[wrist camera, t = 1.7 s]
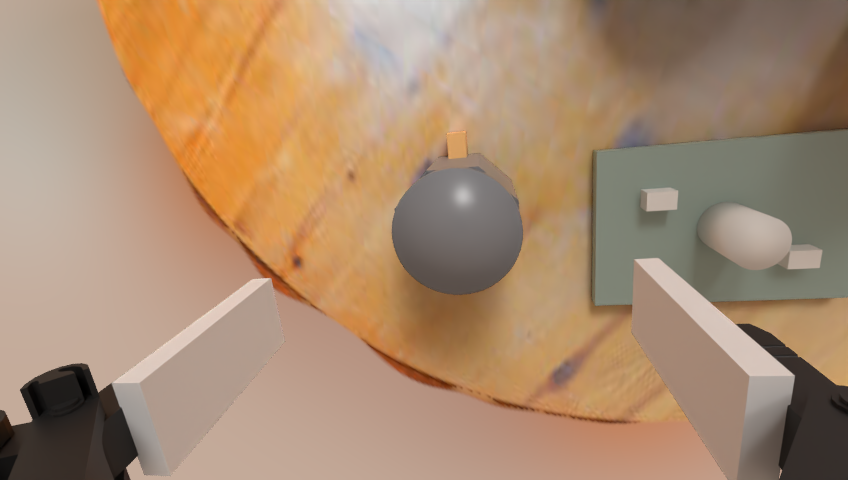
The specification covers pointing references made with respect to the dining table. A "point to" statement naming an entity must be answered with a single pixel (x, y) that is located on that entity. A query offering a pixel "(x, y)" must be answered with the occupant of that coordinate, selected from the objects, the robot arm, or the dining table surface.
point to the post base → (714, 177)
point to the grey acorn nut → (458, 223)
